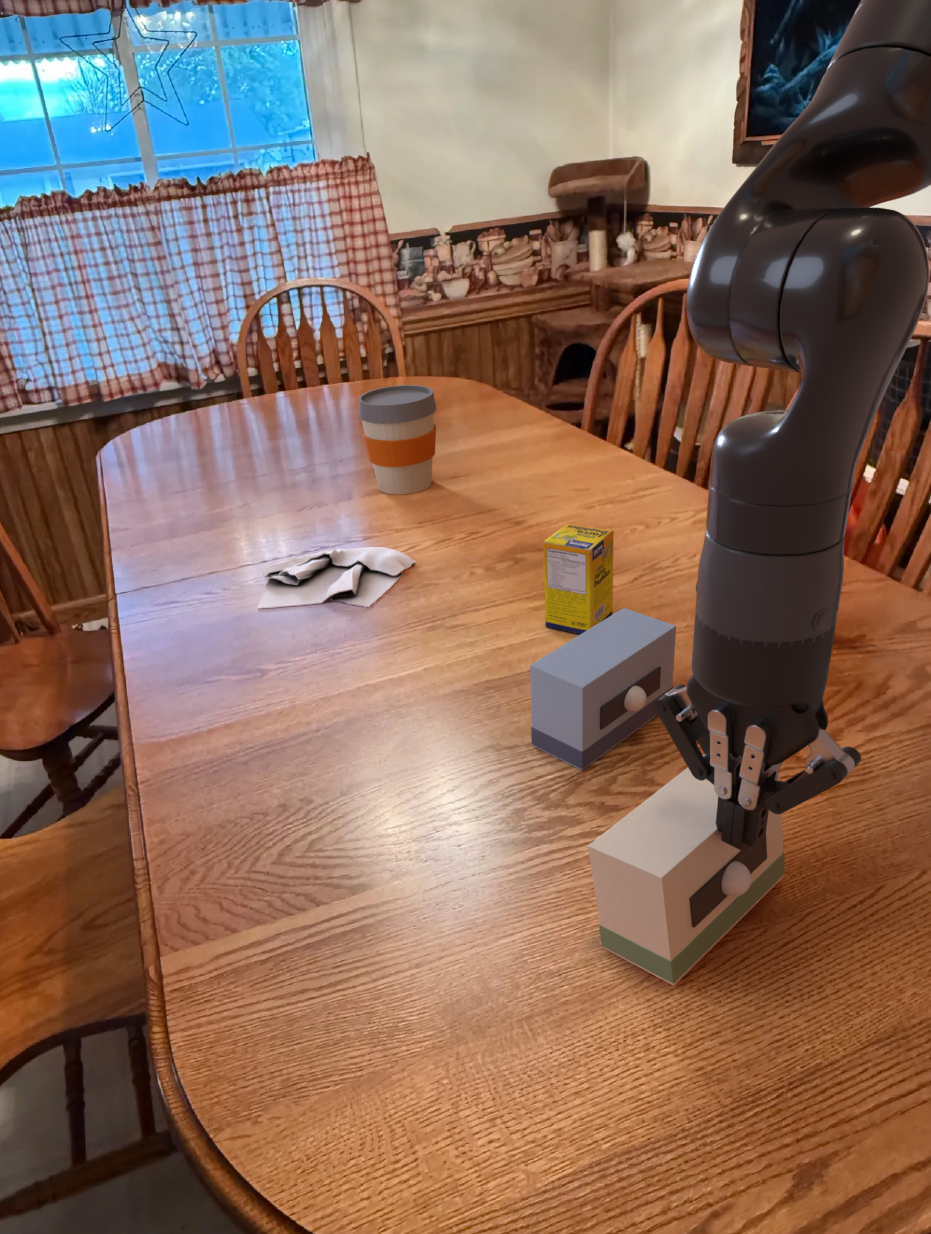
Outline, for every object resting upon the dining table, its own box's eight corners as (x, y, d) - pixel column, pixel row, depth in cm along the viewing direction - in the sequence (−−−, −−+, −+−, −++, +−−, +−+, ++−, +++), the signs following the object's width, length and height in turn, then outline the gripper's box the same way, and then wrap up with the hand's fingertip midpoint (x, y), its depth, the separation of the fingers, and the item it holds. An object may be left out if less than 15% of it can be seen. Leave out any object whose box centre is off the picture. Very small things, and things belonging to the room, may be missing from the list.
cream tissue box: (714, 848, 72) (706, 751, 68) (804, 883, 66) (801, 779, 62) (601, 948, 64) (586, 845, 60) (692, 997, 58) (681, 887, 55)
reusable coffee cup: (416, 502, 143) (407, 408, 136) (353, 493, 149) (341, 402, 142) (455, 476, 152) (449, 386, 144) (394, 469, 158) (384, 382, 150)
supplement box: (613, 615, 106) (615, 529, 100) (591, 638, 102) (592, 549, 96) (567, 606, 109) (566, 521, 103) (544, 627, 105) (542, 540, 99)
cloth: (435, 559, 124) (434, 543, 122) (338, 629, 109) (335, 612, 107) (321, 538, 134) (319, 522, 133) (218, 599, 119) (214, 582, 118)
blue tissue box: (621, 684, 93) (624, 607, 88) (684, 710, 88) (691, 630, 83) (531, 745, 85) (528, 665, 81) (595, 778, 80) (596, 694, 76)
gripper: (916, 612, 48) (864, 855, 57) (698, 556, 57) (683, 774, 66) (851, 669, 44) (807, 921, 53) (627, 598, 53) (622, 825, 62)
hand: (738, 839), depth 59 cm, fingers closed
